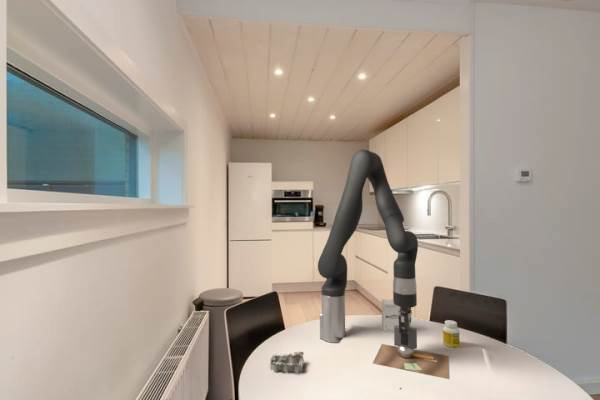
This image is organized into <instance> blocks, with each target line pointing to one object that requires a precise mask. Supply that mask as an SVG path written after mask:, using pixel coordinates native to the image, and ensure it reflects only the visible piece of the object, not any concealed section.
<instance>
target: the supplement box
mask: <svg viewBox="0 0 600 400" xmlns="http://www.w3.org/2000/svg"><path fill="white" fill-rule="evenodd" d="M399 309H400V307H399V306H397V305H395V304H394V303H393V299H388V298H387V299H386V298H381V330H382V331H384V332H390V333H394V326H395V325H399V318H398V311H399Z"/></svg>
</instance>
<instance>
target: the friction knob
mask: <svg viewBox="0 0 600 400" xmlns="http://www.w3.org/2000/svg"><path fill="white" fill-rule="evenodd" d="M402 329H403V330H406V329H405V327H402ZM417 330H418V328H417V327H412V326H410V327H408V332H409V333H408V345H407V346H406V345H402V344H401V333H399V325H395V326H394V332H393V336H394V337H393V339H394V340H393V341H394V345H393V346H397V347H398V355H399V356H400V357H402V358H407V359H409V358H413V357H414V356H416V357H421V358H427V359H432V360H433V357H432V356H426V355H421V354H415V353H414V350H418V349H417V348H418V331H417Z"/></svg>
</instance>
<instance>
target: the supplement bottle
mask: <svg viewBox="0 0 600 400" xmlns="http://www.w3.org/2000/svg"><path fill="white" fill-rule="evenodd" d="M442 338H443V342H442V344H443V345H444V346H446V347H448V348H451V349H458V348H460V346H461V345H460V343H461V342H460V341H461V340H460V329H459V328H458V322H456V321H455V320H448V319H446V320H445V321H444V326H443V328H442Z"/></svg>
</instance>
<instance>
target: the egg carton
mask: <svg viewBox="0 0 600 400" xmlns="http://www.w3.org/2000/svg"><path fill="white" fill-rule="evenodd" d="M304 354H305V353H304V351H294V353H289V354H288V353H287V354H285V353H283V354H274V353H273V354H272V355H271V358H270V359H269V361H270V362H269V363H270V364H269V365H270V366H269V367H270V369H271V370H270V369H269V370H270V371H272V370H273V371H274V372H273V371H272V372H273V373H277V372H279V371H278V370H283V371H282V372H283V373H284V372H288V371H289V372H293V373H294V374H299V373H301V371H302V372H303V367H304V362H305V360H304ZM289 372H288V373H289Z"/></svg>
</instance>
